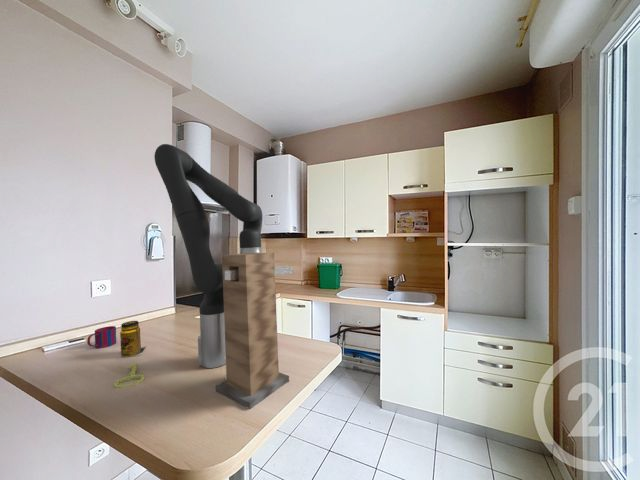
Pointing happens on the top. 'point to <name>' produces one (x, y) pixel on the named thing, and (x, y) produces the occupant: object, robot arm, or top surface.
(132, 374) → the yellow-green flat looped piece
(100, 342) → the mug
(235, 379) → the post
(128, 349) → the condiment
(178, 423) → the top surface
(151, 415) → the top surface
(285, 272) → the pin
